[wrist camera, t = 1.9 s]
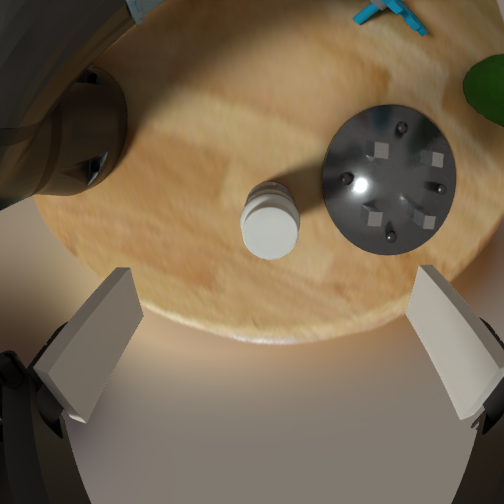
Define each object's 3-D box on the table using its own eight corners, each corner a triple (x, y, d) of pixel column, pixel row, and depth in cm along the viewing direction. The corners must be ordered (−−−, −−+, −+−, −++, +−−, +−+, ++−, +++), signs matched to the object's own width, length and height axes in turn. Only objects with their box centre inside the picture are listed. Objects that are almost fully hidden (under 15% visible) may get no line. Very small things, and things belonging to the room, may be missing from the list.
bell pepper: (498, 80, 17) (551, 80, 8) (494, 134, 20) (550, 147, 11) (454, 47, 17) (508, 33, 8) (450, 105, 20) (511, 106, 11)
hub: (316, 251, 29) (321, 265, 26) (322, 95, 22) (330, 90, 19) (438, 253, 28) (451, 265, 25) (456, 122, 21) (472, 123, 18)
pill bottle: (283, 233, 28) (288, 273, 20) (239, 217, 28) (228, 252, 20) (301, 190, 26) (314, 216, 18) (255, 173, 26) (249, 192, 18)
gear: (436, 33, 16) (424, 24, 11) (400, 56, 21) (375, 59, 16) (366, -35, 14) (324, -59, 9) (336, -9, 19) (288, -20, 14)
